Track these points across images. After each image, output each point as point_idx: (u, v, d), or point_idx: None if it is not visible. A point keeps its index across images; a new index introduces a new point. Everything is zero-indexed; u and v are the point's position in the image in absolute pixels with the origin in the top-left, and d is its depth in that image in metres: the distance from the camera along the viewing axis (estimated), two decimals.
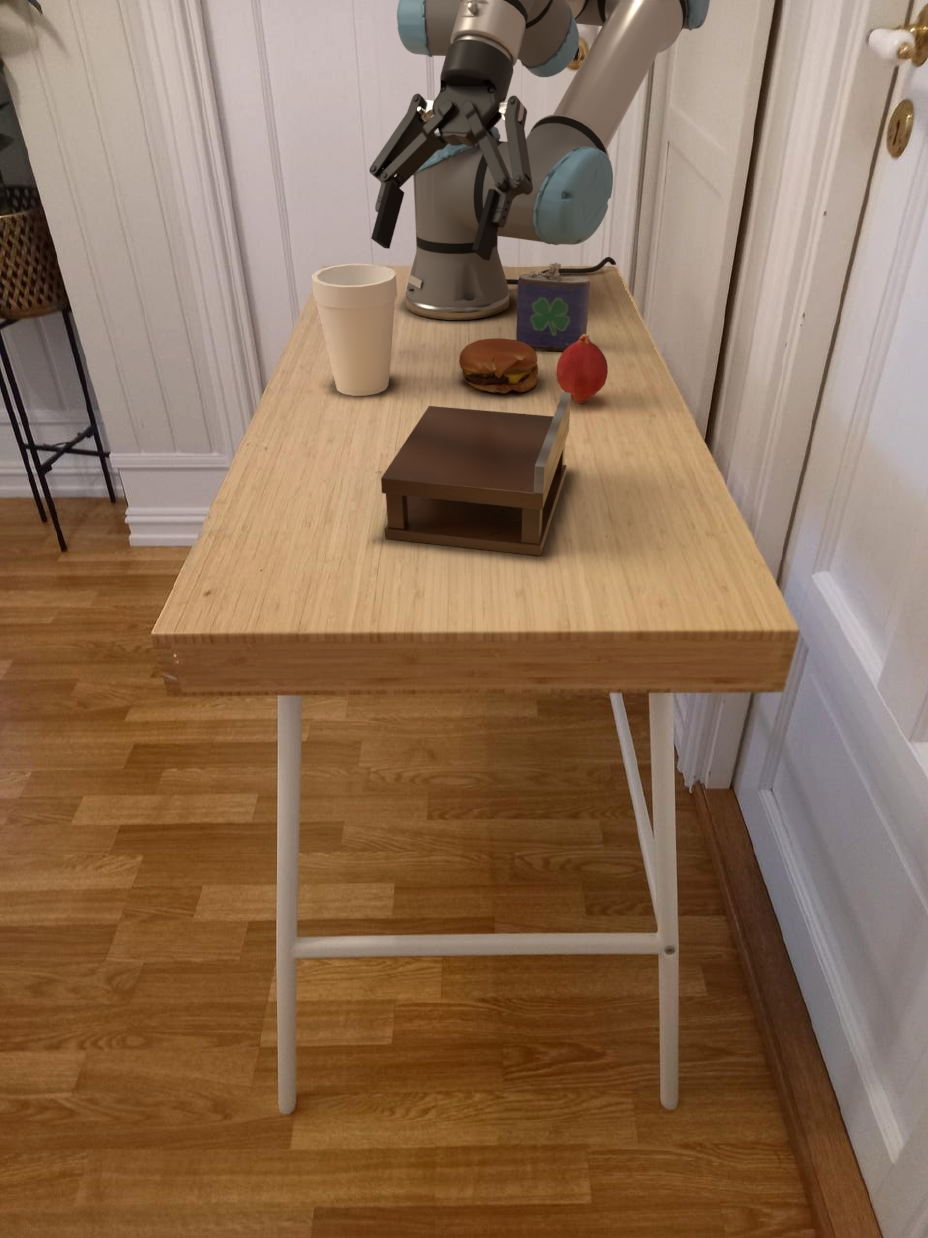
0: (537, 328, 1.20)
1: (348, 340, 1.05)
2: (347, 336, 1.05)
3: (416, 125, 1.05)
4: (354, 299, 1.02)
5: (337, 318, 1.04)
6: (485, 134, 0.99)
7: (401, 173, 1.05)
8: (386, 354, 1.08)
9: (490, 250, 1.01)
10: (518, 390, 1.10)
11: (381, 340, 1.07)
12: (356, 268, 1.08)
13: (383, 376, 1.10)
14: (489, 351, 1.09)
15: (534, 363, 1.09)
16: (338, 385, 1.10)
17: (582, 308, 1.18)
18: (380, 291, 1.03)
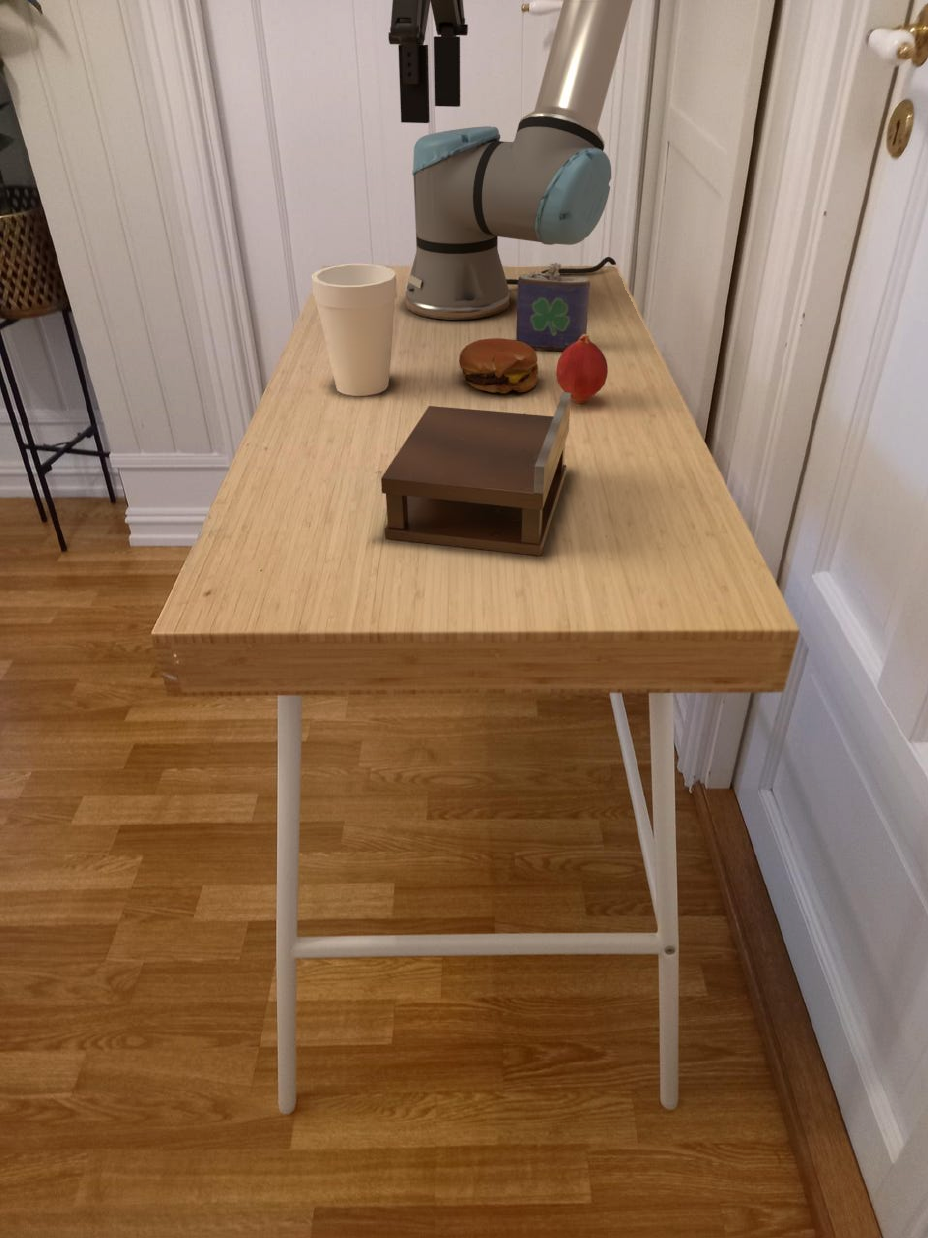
0: (537, 328, 1.20)
1: (348, 340, 1.05)
2: (347, 336, 1.05)
3: None
4: (354, 299, 1.02)
5: (337, 318, 1.04)
6: None
7: (443, 20, 0.98)
8: (386, 354, 1.08)
9: (423, 112, 0.91)
10: (518, 390, 1.10)
11: (381, 340, 1.07)
12: (356, 268, 1.08)
13: (383, 376, 1.10)
14: (489, 351, 1.09)
15: (534, 363, 1.09)
16: (338, 385, 1.10)
17: (582, 308, 1.18)
18: (380, 291, 1.03)
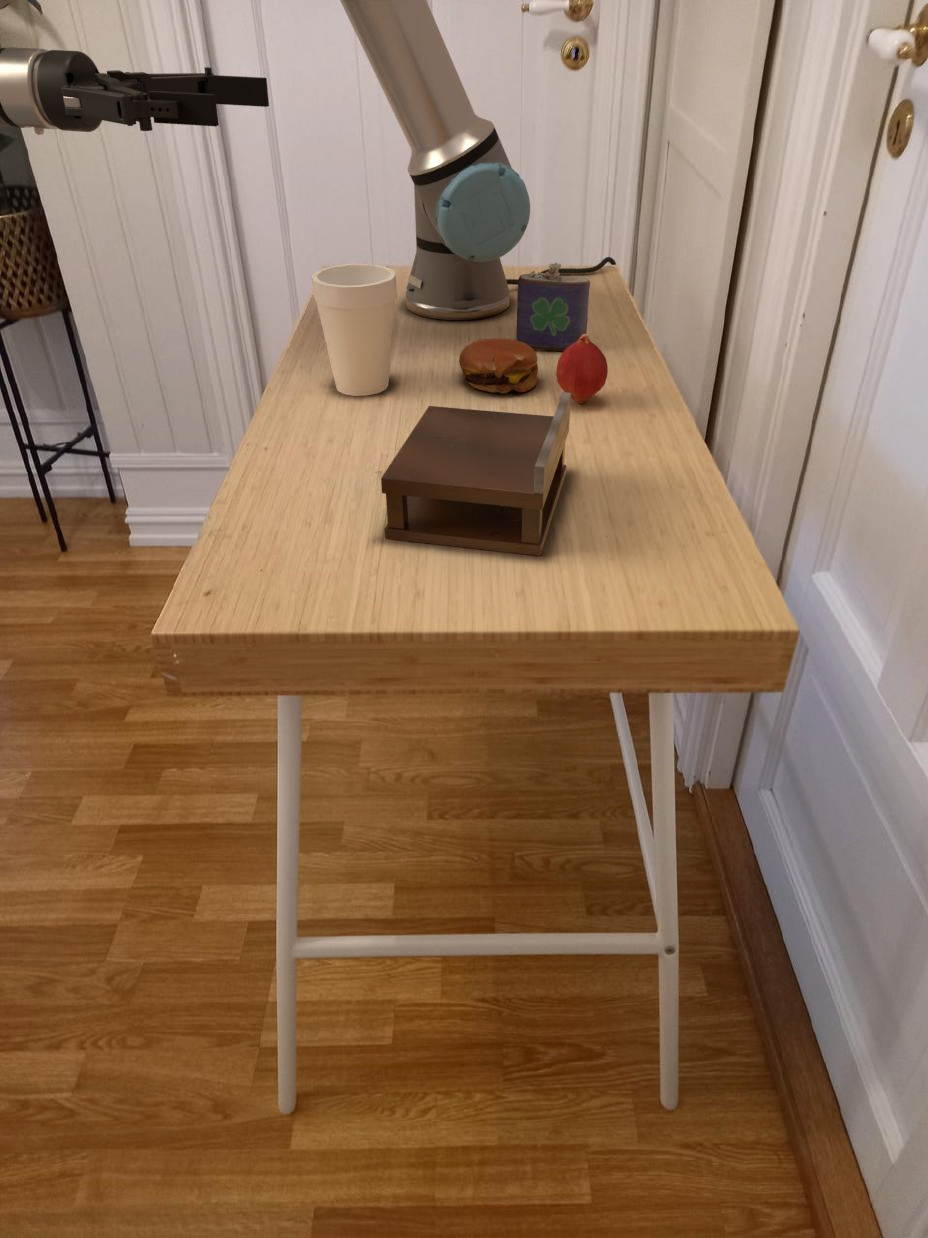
0: (537, 328, 1.20)
1: (348, 340, 1.05)
2: (347, 336, 1.05)
3: None
4: (354, 299, 1.02)
5: (337, 318, 1.04)
6: None
7: (196, 91, 1.03)
8: (386, 354, 1.08)
9: (203, 98, 0.90)
10: (518, 390, 1.10)
11: (381, 340, 1.07)
12: (356, 268, 1.08)
13: (383, 376, 1.10)
14: (489, 351, 1.09)
15: (534, 363, 1.09)
16: (338, 385, 1.10)
17: (582, 308, 1.18)
18: (380, 291, 1.03)
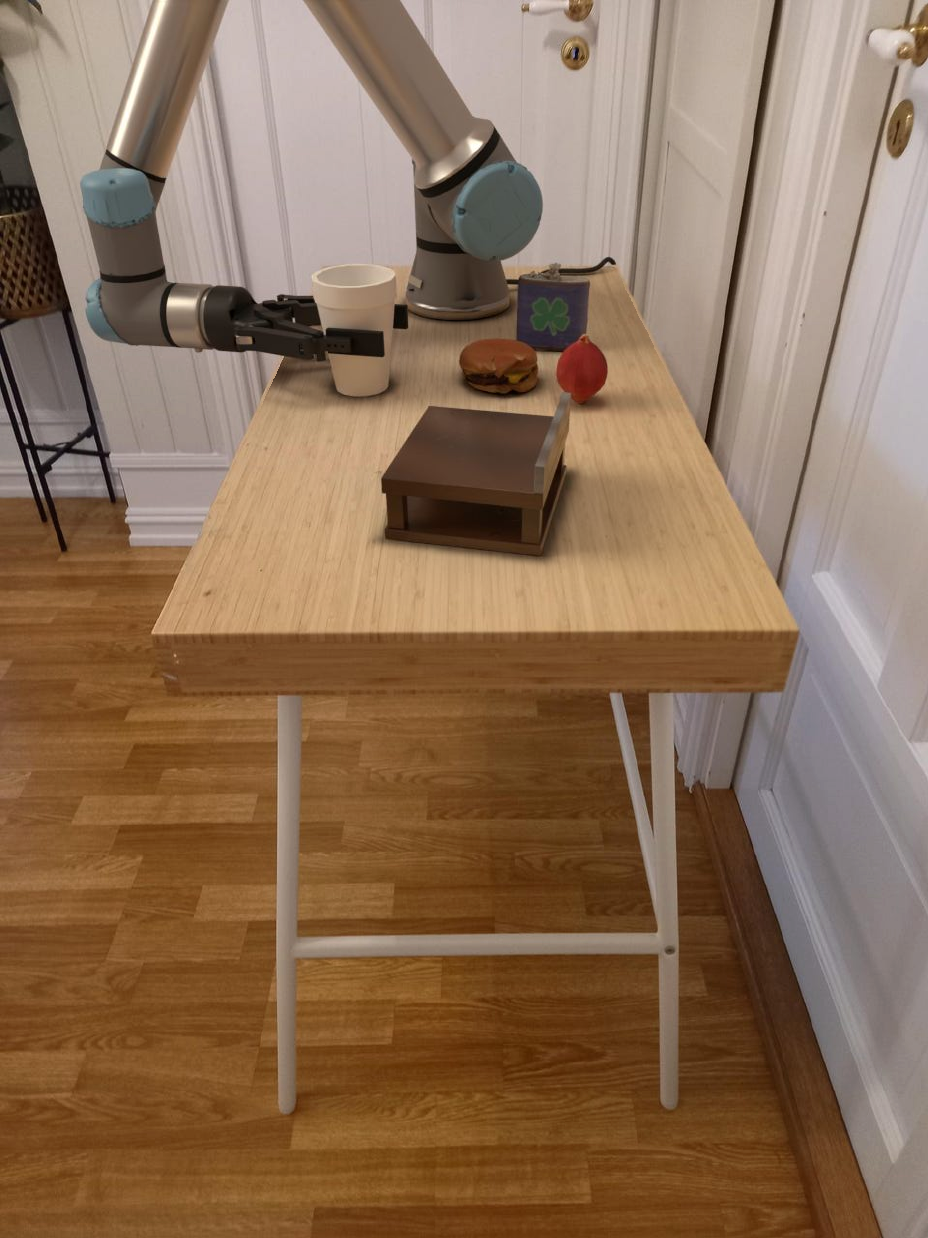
0: (537, 328, 1.20)
1: None
2: None
3: None
4: (353, 300, 1.02)
5: (337, 318, 1.04)
6: None
7: None
8: (386, 355, 1.08)
9: (373, 335, 1.03)
10: (518, 390, 1.10)
11: None
12: (356, 268, 1.08)
13: (383, 377, 1.10)
14: (489, 351, 1.09)
15: (534, 363, 1.09)
16: (338, 385, 1.10)
17: (582, 308, 1.18)
18: (379, 292, 1.02)
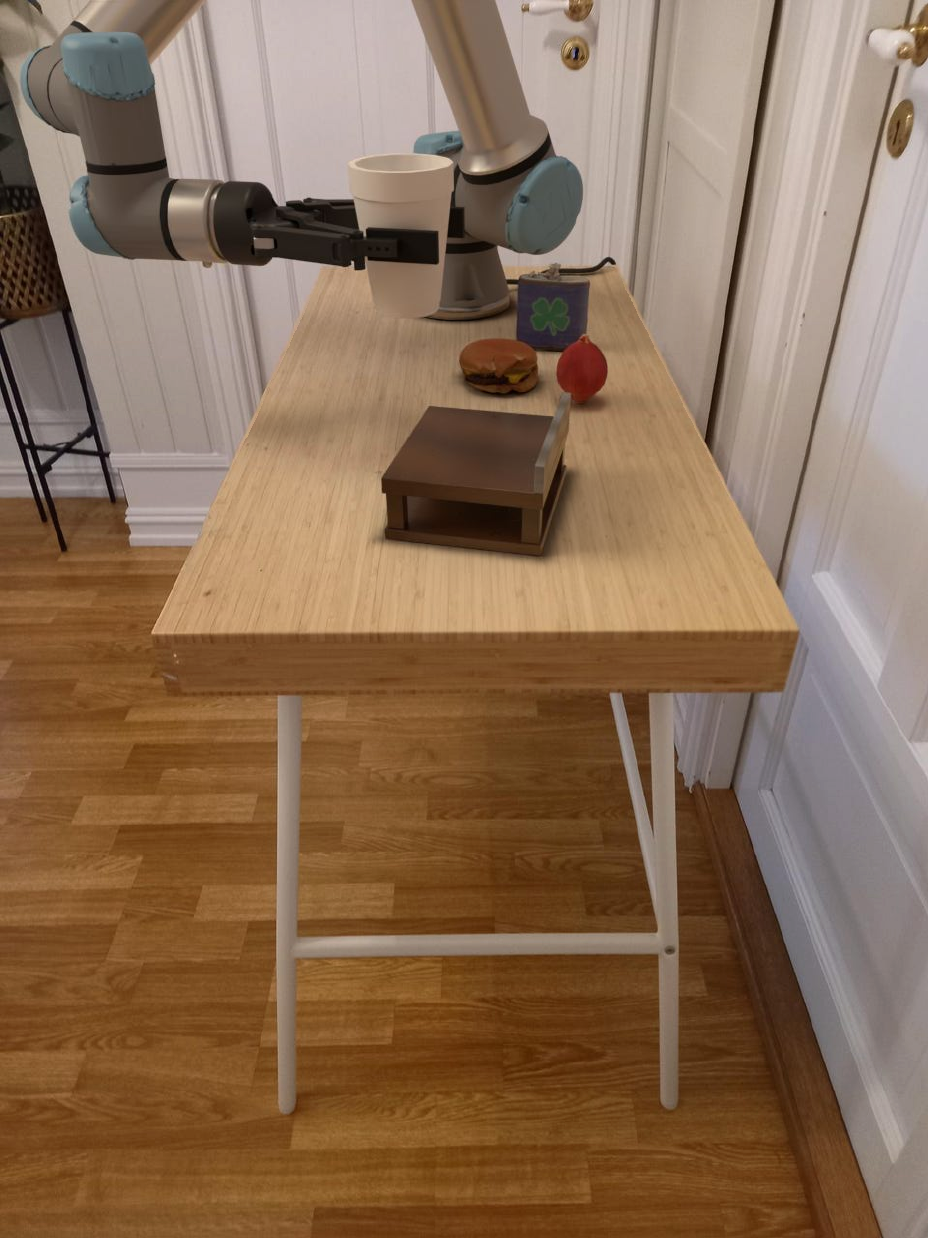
0: (537, 328, 1.20)
1: None
2: None
3: None
4: (401, 189, 0.81)
5: (380, 215, 0.83)
6: None
7: None
8: (438, 266, 0.87)
9: (426, 236, 0.82)
10: (518, 390, 1.10)
11: None
12: (403, 158, 0.87)
13: (434, 294, 0.89)
14: (489, 351, 1.09)
15: (534, 363, 1.09)
16: (378, 305, 0.89)
17: (582, 308, 1.18)
18: (434, 180, 0.81)
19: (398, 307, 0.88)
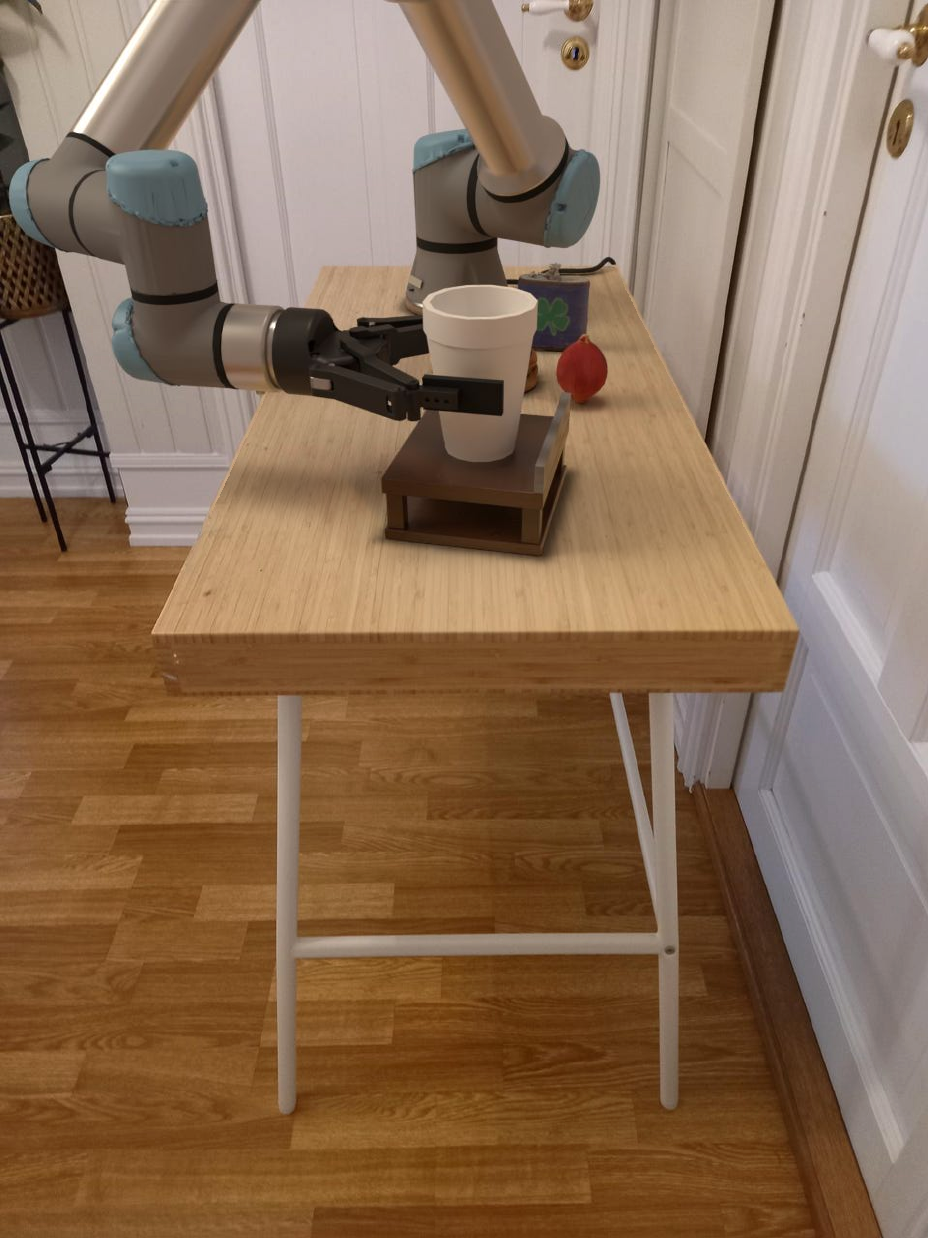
0: (537, 328, 1.20)
1: None
2: None
3: None
4: (485, 336, 0.74)
5: (459, 360, 0.76)
6: None
7: None
8: (518, 407, 0.80)
9: (490, 387, 0.73)
10: None
11: (514, 389, 0.78)
12: (479, 291, 0.80)
13: (512, 436, 0.82)
14: None
15: (534, 363, 1.09)
16: (450, 447, 0.82)
17: (582, 308, 1.18)
18: (520, 325, 0.74)
19: (474, 451, 0.81)
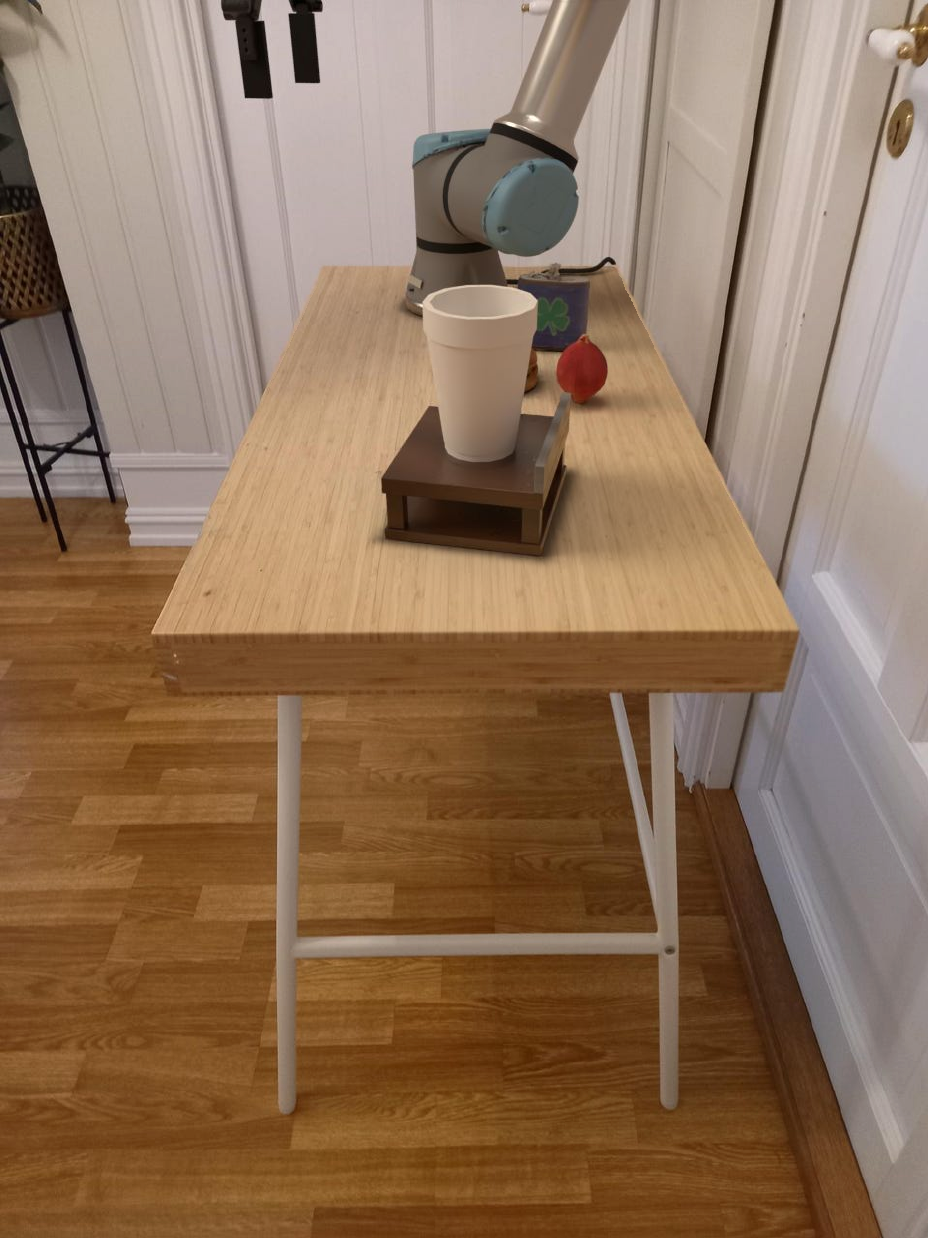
0: (537, 328, 1.20)
1: (471, 390, 0.77)
2: (470, 385, 0.77)
3: None
4: (485, 336, 0.74)
5: (459, 360, 0.76)
6: None
7: None
8: (518, 407, 0.80)
9: (265, 87, 0.92)
10: None
11: (514, 390, 0.78)
12: (479, 291, 0.80)
13: (512, 436, 0.82)
14: None
15: (534, 363, 1.09)
16: (450, 447, 0.82)
17: (582, 308, 1.18)
18: (520, 325, 0.74)
19: (474, 451, 0.81)
